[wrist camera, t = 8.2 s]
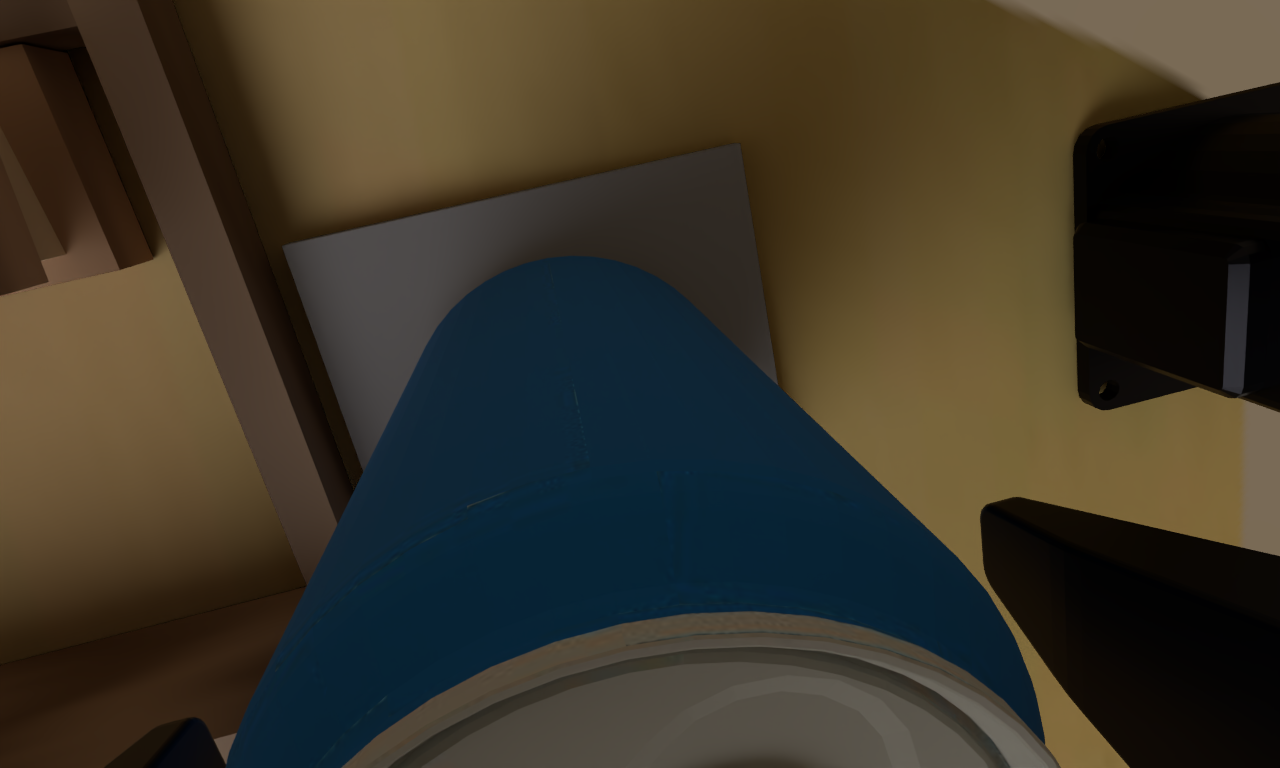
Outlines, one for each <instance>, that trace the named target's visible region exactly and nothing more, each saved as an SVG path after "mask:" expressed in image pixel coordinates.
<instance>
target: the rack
mask: <svg viewBox="0 0 1280 768" xmlns="http://www.w3.org/2000/svg"><path fill="white" fill-rule="evenodd" d="M19 44H24V45H29V46H34V47H39V48H44V49H49V50H54V51H64V50H69V49H74V48H79V47H84V46H86V48H87V51H88V53H89V55H90V58H91V60H92V63H93V65H94V68H95V70H96V73H97V75H98V77H99V80H100V82H101V85H102V87H103V90H104V92H105V95H106V97H107V99H108V102H109V104H110V107H111V109H112V112H113V114H114V117H115V119H116V121H117V124H118V126H119V129H120V131H121V134H122V136H123V138H124V141H125V143H126V146H127V148H128V151H129V153H130V156H131V158H132V160H133V163H134V165H135V168H136V170H137V173H138V175H139V178H140V180H141V182H142V185H143V187H144V190H145V192H146V195H147V197H148V199H149V202H150V204H151V207H152V209H153V212H154V214H155V217H156V219H157V221H158V224H159V226H160V229H161V231H162V234H163V236H164V239H165V241H166V243H167V246H168V248H169V251H170V253H171V256H172V258H173V261H174V263H175V265H176V268H177V270H178V273H179V275H180V278H181V280H182V282H183V285H184V287H185V290H186V292H187V295H188V297H189V300H190V302H191V304H192V307H193V309H194V312H195V314H196V317H197V319H198V322H199V324H200V326H201V329H202V331H203V334H204V336H205V339H206V341H207V344H208V346H209V348H210V351H211V353H212V356H213V358H214V361H215V363H216V365H217V368H218V370H219V373H220V375H221V378H222V380H223V383H224V385H225V387H226V390H227V392H228V395H229V397H230V400H231V402H232V405H233V407H234V409H235V412H236V414H237V417H238V419H239V422H240V424H241V426H242V429H243V431H244V434H245V436H246V439H247V441H248V444H249V446H250V448H251V451H252V453H253V456H254V458H255V461H256V463H257V466H258V468H259V470H260V473H261V475H262V478H263V480H264V483H265V485H266V488H267V490H268V492H269V495H270V497H271V500H272V502H273V505H274V507H275V509H276V512H277V514H278V517H279V519H280V522H281V524H282V527H283V529H284V531H285V534H286V536H287V539H288V541H289V544H290V546H291V549H292V551H293V553H294V556H295V558H296V561H297V563H298V566H299V568H300V571H301V573H302V575H303V578H304V580H305V583H306V585H308V583H309V581H310V579H311V577H312V575H313V573H314V571H315V569H316V567H317V565H318V563H319V561H320V559H321V557H322V555H323V553H324V551H325V549H326V547H327V545H328V543H329V541H330V539H331V537H332V535H333V533H334V531H335V529H336V527H337V525H338V523H339V521H340V518H341V516H342V514H343V512H344V510H345V508H346V506H347V504H348V502H349V500H350V498H351V496H352V494H353V489H352V487H351V484H350V481H349V479H348V476H347V473H346V470H345V468H344V465H343V462H342V460H341V457H340V454H339V451H338V449H337V446H336V443H335V441H334V438H333V435H332V433H331V430H330V427H329V424H328V422H327V419H326V416H325V414H324V411H323V408H322V405H321V403H320V400H319V397H318V395H317V392H316V389H315V386H314V384H313V381H312V378H311V376H310V373H309V370H308V367H307V365H306V362H305V359H304V357H303V354H302V351H301V348H300V346H299V343H298V340H297V338H296V335H295V332H294V329H293V327H292V324H291V321H290V319H289V316H288V313H287V310H286V308H285V305H284V302H283V300H282V297H281V294H280V292H279V289H278V286H277V283H276V281H275V278H274V275H273V273H272V270H271V267H270V264H269V262H268V259H267V256H266V254H265V251H264V248H263V245H262V243H261V240H260V237H259V235H258V232H257V229H256V226H255V224H254V221H253V218H252V216H251V213H250V210H249V207H248V205H247V202H246V199H245V197H244V194H243V191H242V188H241V186H240V183H239V180H238V178H237V175H236V172H235V169H234V167H233V164H232V161H231V159H230V156H229V153H228V151H227V148H226V145H225V142H224V140H223V137H222V134H221V132H220V129H219V126H218V123H217V121H216V118H215V115H214V113H213V110H212V107H211V104H210V102H209V99H208V96H207V94H206V91H205V88H204V85H203V83H202V80H201V77H200V75H199V72H198V69H197V66H196V64H195V61H194V58H193V56H192V53H191V50H190V47H189V45H188V42H187V39H186V37H185V34H184V31H183V29H182V26H181V23H180V20H179V18H178V15H177V12H176V10H175V7H174V4H173V1H172V0H0V48H4V47H9V46H14V45H19ZM305 589H306V587H303V588H299V589H295V590H291V591H287V592H283V593H280V594H276V595H272V596H268V597H264V598H260V599H256V600H252V601H249V602H245V603H241V604H237V605H233V606H229V607H225V608H221V609H217V610H214V611H210V612H206V613H202V614H198V615H194V616H190V617H186V618H182V619H179V620H175V621H171V622H167V623H163V624H159V625H155V626H151V627H147V628H144V629H140V630H136V631H132V632H128V633H124V634H120V635H116V636H113V637H109V638H105V639H101V640H97V641H93V642H89V643H85V644H81V645H78V646H74V647H70V648H66V649H62V650H58V651H54V652H50V653H46V654H43V655H39V656H35V657H31V658H27V659H23V660H19V661H15V662H12V663H8V664H4V665H0V768H103V767H105V766H106V765H107V764H108V763H110V762H111V761H112V760H114V759H115V758H116V757H117V756H119V755H120V754H121V753H122V752H124V751H125V750H126V749H127V748H129V747H130V746H131V745H133V744H134V743H135V742H136V741H138V740H139V739H140V738H141V737H143V736H144V735H145V734H147V733H148V732H149V731H150V730H152V729H153V728H155V727H157V726H159V725H161V724H165V723H169V722H173V721H176V720H180V719H184V718H188V717H197V718H200V719H201V720H202V721H204V722H205V724H206V725H207V727H208V729H209V731H210V733H211V735H212V737H213V739H214V741H215V743H216V745H217V747H218V749H219V751H220V753H221V755H222V757H223V759H224V761H225V763H227V758H228V754H229V751H230V749H231V746H232V744H233V741H234V739H235V736H236V734H237V731H238V729H239V727H240V724H241V722H242V719H243V717H244V714H245V712H246V709H247V707H248V705H249V702H250V700H251V698H252V696H253V694H254V692H255V690H256V688H257V686H258V684H259V682H260V680H261V678H262V676H263V674H264V672H265V670H266V668H267V666H268V664H269V662H270V660H271V658H272V656H273V654H274V652H275V650H276V648H277V646H278V644H279V642H280V640H281V638H282V636H283V634H284V632H285V630H286V628H287V626H288V624H289V622H290V620H291V618H292V616H293V614H294V611H295V609H296V607H297V605H298V603H299V601H300V599H301V597H302V595H303V593H304V591H305Z"/></svg>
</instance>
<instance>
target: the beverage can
mask: <svg viewBox="0 0 1280 768" xmlns="http://www.w3.org/2000/svg"><path fill="white" fill-rule="evenodd" d="M225 768H1061V767H1060V766H1059V764H1058V762H1057V761H1056V759H1055V758H1054V756H1053V755H1052V753H1051V752H1050V751H1049V750H1048V748H1047V747H1046V746H1045V737H1044V732H1043V727H1042V722H1041V717H1040V712H1039V707H1038V703H1037V698H1036V694H1035V691H1034V687H1033V684H1032V681H1031V678H1030V675H1029V673H1028V670H1027V668H1026V665H1025V663H1024V660H1023V657H1022V655H1021V652H1020V650H1019V647H1018V645H1017V642H1016V640H1015V638H1014V636H1013V634H1012V632H1011V630H1010V629H1009V627H1008V625H1007V624H1006V622H1005V620H1004V619H1003V617H1002V615H1001V614H1000V612H999V610H998V609H997V607H996V605H995V604H994V602H993V600H992V599H991V597H990V596H989V594H988V592H987V591H986V590H985V589H984V587H983V586H982V585H981V584H980V583H979V582H978V580H977V579H976V578H975V577H974V576H973V575H972V573H971V572H970V571H969V570H968V569H967V568H966V567H965V565H964V564H963V563H962V562H961V561H960V560H959V558H958V557H957V556H956V555H955V554H954V553H952V552H951V551H950V550H949V549H948V548H947V547H946V546H945V545H944V544H943V543H942V542H941V541H940V540H939V539H938V538H937V537H936V536H935V535H934V534H933V533H932V532H931V531H929V530H928V529H927V528H926V527H925V526H924V525H923V524H922V523H921V522H920V521H919V520H918V519H917V518H916V517H915V516H914V515H913V514H912V513H911V512H910V511H909V510H908V509H906V508H905V507H904V506H903V505H902V504H901V503H900V502H899V501H898V500H897V499H896V498H895V497H894V496H893V495H892V494H891V493H890V492H889V491H888V490H887V489H886V488H885V487H883V486H882V485H881V484H880V483H879V482H878V481H877V480H876V479H875V478H874V477H873V476H872V475H871V474H870V473H869V472H868V471H867V470H866V469H865V468H864V467H863V466H862V465H860V464H859V463H858V462H857V461H856V460H855V459H854V458H853V457H852V456H851V455H850V454H849V453H848V452H847V451H846V450H845V449H844V448H843V447H842V446H841V445H840V444H839V443H837V442H836V441H835V440H834V439H833V438H832V437H831V436H830V435H829V434H828V433H827V432H826V431H825V430H824V429H823V428H822V427H821V426H820V425H819V424H818V423H817V422H816V421H814V420H813V419H812V418H811V417H810V416H809V415H808V414H807V413H806V412H805V411H804V410H803V409H802V408H801V407H800V406H799V405H798V404H797V403H796V402H795V401H794V400H793V399H791V398H790V397H789V396H788V395H787V394H786V393H785V392H784V391H783V390H782V389H781V388H780V387H779V386H778V385H777V384H776V383H775V382H774V381H773V380H772V379H771V378H770V377H768V376H767V375H766V374H765V373H764V372H763V371H762V370H761V369H760V368H759V367H758V366H757V365H756V364H755V363H754V362H753V361H752V360H751V359H750V358H749V357H748V356H747V355H745V354H744V353H743V352H742V351H741V350H740V349H739V348H738V347H737V346H736V345H735V344H734V343H733V342H732V341H731V340H730V339H729V338H728V337H727V336H726V335H725V334H724V333H722V332H721V331H720V330H719V329H718V328H717V327H716V326H715V325H714V324H713V323H712V322H711V321H710V320H709V319H708V318H707V317H706V316H705V315H704V314H703V313H702V312H701V311H699V310H698V309H697V308H696V307H695V306H694V305H693V304H692V303H691V302H690V301H689V300H688V299H687V298H685V297H684V296H683V295H682V294H681V293H680V292H678V291H677V290H676V289H675V288H674V287H672V286H671V285H669V284H668V283H666V282H664V281H663V280H661V279H660V278H658V277H657V276H655V275H653V274H651V273H648V272H646V271H644V270H642V269H640V268H638V267H635V266H632V265H629V264H626V263H622V262H619V261H616V260H611V259H605V258H599V257H592V256H562V257H552V258H545V259H541V260H537V261H532V262H528V263H525V264H522V265H519V266H517V267H514V268H511V269H509V270H506V271H504V272H502V273H500V274H498V275H496V276H494V277H492V278H491V279H489V280H487V281H485V282H484V283H482V284H481V285H479V286H478V287H477V288H475V289H474V290H472V291H471V292H470V293H468V294H467V295H466V296H465V297H464V298H463V299H462V300H461V301H460V302H458V303H457V304H456V305H455V306H454V307H453V308H452V309H451V310H450V311H449V313H448V314H447V315H446V316H445V318H444V319H443V320H442V321H441V323H440V324H439V325H438V326H437V328H436V330H435V331H434V333H433V335H432V336H431V338H430V340H429V341H428V343H427V345H426V347H425V349H424V351H423V353H422V355H421V357H420V359H419V361H418V363H417V365H416V367H415V369H414V371H413V373H412V375H411V377H410V379H409V381H408V383H407V385H406V387H405V389H404V391H403V393H402V395H401V397H400V399H399V401H398V403H397V405H396V407H395V409H394V411H393V413H392V415H391V417H390V419H389V421H388V423H387V425H386V428H385V430H384V432H383V434H382V436H381V438H380V440H379V442H378V444H377V446H376V448H375V450H374V452H373V454H372V456H371V458H370V460H369V462H368V464H367V466H366V468H365V470H364V472H363V474H362V476H361V478H360V480H359V482H358V484H357V486H356V488H355V490H354V492H353V494H352V496H351V498H350V500H349V502H348V504H347V506H346V508H345V510H344V512H343V514H342V516H341V518H340V521H339V523H338V525H337V527H336V529H335V531H334V533H333V535H332V537H331V539H330V541H329V543H328V545H327V547H326V549H325V551H324V553H323V555H322V557H321V559H320V561H319V563H318V565H317V567H316V569H315V571H314V573H313V575H312V577H311V579H310V581H309V583H308V585H307V587H306V589H305V591H304V593H303V595H302V597H301V599H300V601H299V603H298V605H297V607H296V609H295V611H294V614H293V616H292V618H291V620H290V622H289V624H288V626H287V628H286V630H285V632H284V634H283V636H282V638H281V640H280V642H279V644H278V646H277V648H276V650H275V652H274V654H273V656H272V658H271V660H270V662H269V664H268V666H267V668H266V670H265V672H264V674H263V676H262V678H261V680H260V682H259V684H258V686H257V688H256V690H255V692H254V694H253V696H252V698H251V700H250V702H249V705H248V707H247V709H246V712H245V714H244V717H243V719H242V722H241V724H240V727H239V729H238V731H237V734H236V736H235V739H234V741H233V744H232V746H231V749H230V751H229V754H228V758H227V763H226V767H225Z"/></svg>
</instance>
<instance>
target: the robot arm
mask: <svg viewBox="0 0 1280 768" xmlns="http://www.w3.org/2000/svg"><path fill="white" fill-rule="evenodd" d="M1102 139H1103V140H1104V142H1105V145H1106V148H1105V152H1104V154H1103V155H1102V157H1101V158H1100V159H1099V158H1098V155H1097V148H1098V145H1099V143H1100V142H1101V141H1102ZM1073 174H1074V224H1075V234H1074V237H1073V248H1074V297H1075V336H1076V339H1077V375H1078V393H1079V397H1080V398H1081V400H1082V401H1083V402H1084V403H1086V404H1089V405H1091V406H1093V407H1095V408H1098V409H1100V410H1111V409H1114V408H1118V407H1122V406H1126V405H1130V404H1134V403H1137V402H1141V401H1145V400H1149V399H1153V398H1157V397H1160V396H1164V395H1168V394H1172V393H1176V392H1180V391H1184V390H1187V389H1191V388H1195V387H1199V388H1202V389H1205V390H1208V391H1211V392H1213V393H1216V394H1219V395H1222V396H1224V397H1227V398H1240V399H1243V400H1246V401H1249V402H1252V403H1255V404H1257V405H1260V406H1263V407H1266V408H1269V409H1271V410H1274V411H1277V412H1280V82H1279V83H1275V84H1270V85H1266V86H1262V87H1257V88H1253V89H1249V90H1244V91H1240V92H1236V93H1231V94H1227V95H1223V96H1218V97H1214V98H1210V99H1205V100H1201V101H1197V102H1192V103H1188V104H1184V105H1179V106H1175V107H1171V108H1166V109H1162V110H1158V111H1153V112H1149V113H1145V114H1140V115H1136V116H1132V117H1127V118H1123V119H1119V120H1114V121H1110V122H1106V123H1101V124H1097V125H1093V126H1091V127H1089V128H1087V129H1085V130H1084V131H1083V132H1082V133H1081V134H1080V135H1079V137H1078V139H1077V141H1076V143H1075V145H1074V152H1073ZM1106 381H1107V386H1106V389H1105V390H1104V391H1103V392H1102V393H1100V394H1099V391H1100V387H1101V386H1102V385H1103V383H1104V382H1106ZM980 523H981V538H982V552H983V565H984V570H985V574H986V577H987V579H988V581H989V583H990V585H991V587H992V589H993V590H994V591H995V593H996V594H997V596H998V597H999V599H1000V600H1001V601H1002V603H1003V604H1004V606H1005V607H1006V609H1007V610H1008V611H1009V613H1010V614H1011V616H1012V617H1013V619H1014V620H1015V621H1016V623H1017V624H1018V626H1019V627H1020V629H1021V630H1022V631H1023V633H1024V634H1025V636H1026V637H1027V639H1028V640H1029V641H1030V643H1031V644H1032V646H1033V647H1034V649H1035V650H1036V651H1037V653H1038V654H1039V656H1040V657H1041V658H1042V660H1043V661H1044V663H1045V664H1046V666H1047V667H1048V668H1049V670H1050V671H1051V673H1052V674H1053V676H1054V677H1055V678H1056V680H1057V681H1058V682H1059V684H1060V685H1061V686H1062V688H1063V689H1064V690H1065V692H1066V693H1067V694H1068V696H1069V697H1070V698H1071V699H1072V701H1073V702H1074V703H1075V704H1076V705H1077V707H1078V708H1079V709H1080V710H1081V711H1082V713H1083V714H1084V715H1085V716H1086V717H1087V718H1088V720H1089V721H1090V722H1091V723H1092V724H1093V725H1094V727H1095V728H1096V729H1097V730H1098V731H1099V732H1100V733H1101V735H1102V736H1103V737H1104V738H1105V739H1106V740H1107V742H1108V743H1109V744H1110V745H1111V746H1112V747H1113V749H1114V750H1115V751H1116V752H1117V753H1118V754H1119V755H1120V757H1121V758H1122V759H1123V760H1124V761H1125V762H1126V764H1127V765H1128V766H1129V767H1130V768H1280V556H1276V555H1272V554H1268V553H1263V552H1259V551H1254V550H1250V549H1246V548H1241V547H1237V546H1233V545H1228V544H1224V543H1219V542H1215V541H1211V540H1206V539H1202V538H1197V537H1193V536H1189V535H1184V534H1180V533H1175V532H1171V531H1167V530H1162V529H1158V528H1153V527H1149V526H1145V525H1140V524H1136V523H1131V522H1127V521H1123V520H1118V519H1114V518H1110V517H1105V516H1101V515H1096V514H1092V513H1088V512H1083V511H1079V510H1074V509H1070V508H1066V507H1061V506H1057V505H1052V504H1048V503H1044V502H1039V501H1035V500H1030V499H1026V498H1022V497H1012V498H1008V499H1004V500H1001V501H997V502H993V503H990V504H987V505H985V507H984V508H983V509H982V511H981V515H980ZM225 767H226V763H225V761H224V759H223V757H222V755H221V753H220V751H219V749H218V747H217V745H216V743H215V741H214V739H213V737H212V735H211V733H210V731H209V729H208V727H207V725H206V724H205V722H204V721H202V720H201V719H200V718H197V717H188V718H184V719H180V720H176V721H173V722H169V723H165V724H161V725H159V726H157V727H155V728H153V729H152V730H150V731H149V732H148V733H147V734H145V735H144V736H143V737H141V738H140V739H139V740H138V741H136V742H135V743H134V744H133V745H131V746H130V747H129V748H127V749H126V750H125V751H124V752H122V753H121V754H120V755H119V756H117V757H116V758H115V759H114V760H112V761H111V762H110V763H108V764H107V765H106V766H105V767H103V768H225Z"/></svg>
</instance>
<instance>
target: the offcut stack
mask: <svg viewBox="0 0 1280 768" xmlns="http://www.w3.org/2000/svg"><path fill="white" fill-rule="evenodd" d="M150 260H153V256H152V254H151V251H150V249H149V247H148V244H147V242H146V240H145V237H144V235H143V232H142V230H141V228H140V225H139V223H138V220H137V218H136V216H135V213H134V211H133V208H132V206H131V204H130V201H129V199H128V196H127V194H126V192H125V189H124V187H123V184H122V182H121V180H120V177H119V175H118V173H117V170H116V168H115V165H114V163H113V161H112V158H111V156H110V153H109V151H108V149H107V146H106V144H105V141H104V139H103V137H102V134H101V132H100V129H99V127H98V125H97V122H96V120H95V117H94V115H93V113H92V110H91V108H90V106H89V103H88V101H87V98H86V96H85V94H84V91H83V89H82V86H81V84H80V82H79V79H78V77H77V74H76V72H75V70H74V67H73V65H72V62H71V60H70V58H69V55H68V53H64V52H59V51H54V50H49V49H44V48H39V47H34V46H29V45H24V44H19V45H14V46H9V47H4V48H0V297H1V296H5V295H10V294H14V293H19V292H23V291H28V290H32V289H37V288H41V287H45V286H50V285H54V284H59V283H63V282H68V281H72V280H77V279H81V278H86V277H90V276H95V275H99V274H104V273H108V272H113V271H117V270H121V269H124V268H127V267H131V266H134V265H137V264H140V263H143V262H147V261H150Z"/></svg>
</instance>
